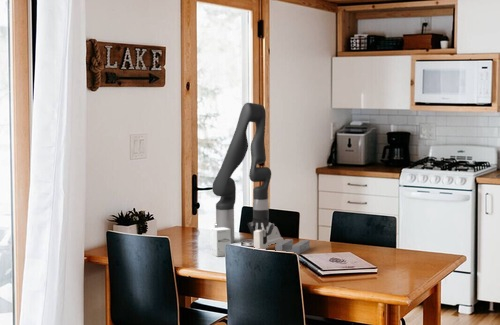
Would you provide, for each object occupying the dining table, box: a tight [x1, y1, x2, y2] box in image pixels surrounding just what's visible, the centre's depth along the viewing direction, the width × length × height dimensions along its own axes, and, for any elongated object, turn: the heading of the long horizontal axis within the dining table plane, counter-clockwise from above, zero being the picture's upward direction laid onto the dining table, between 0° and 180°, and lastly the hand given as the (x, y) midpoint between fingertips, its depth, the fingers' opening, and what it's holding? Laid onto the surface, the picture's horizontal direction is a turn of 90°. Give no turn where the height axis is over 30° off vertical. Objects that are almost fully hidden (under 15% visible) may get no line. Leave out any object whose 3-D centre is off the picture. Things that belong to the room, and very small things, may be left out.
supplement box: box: [209, 227, 232, 257], centre depth 376 cm, size 7×7×13 cm
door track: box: [274, 238, 311, 255], centre depth 384 cm, size 16×12×4 cm
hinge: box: [267, 225, 284, 246], centre depth 405 cm, size 17×5×10 cm, turn 144°
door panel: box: [253, 228, 269, 250], centre depth 387 cm, size 12×3×10 cm, turn 158°
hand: (261, 243), depth 387 cm, fingers closed on door panel, 3 cm apart
